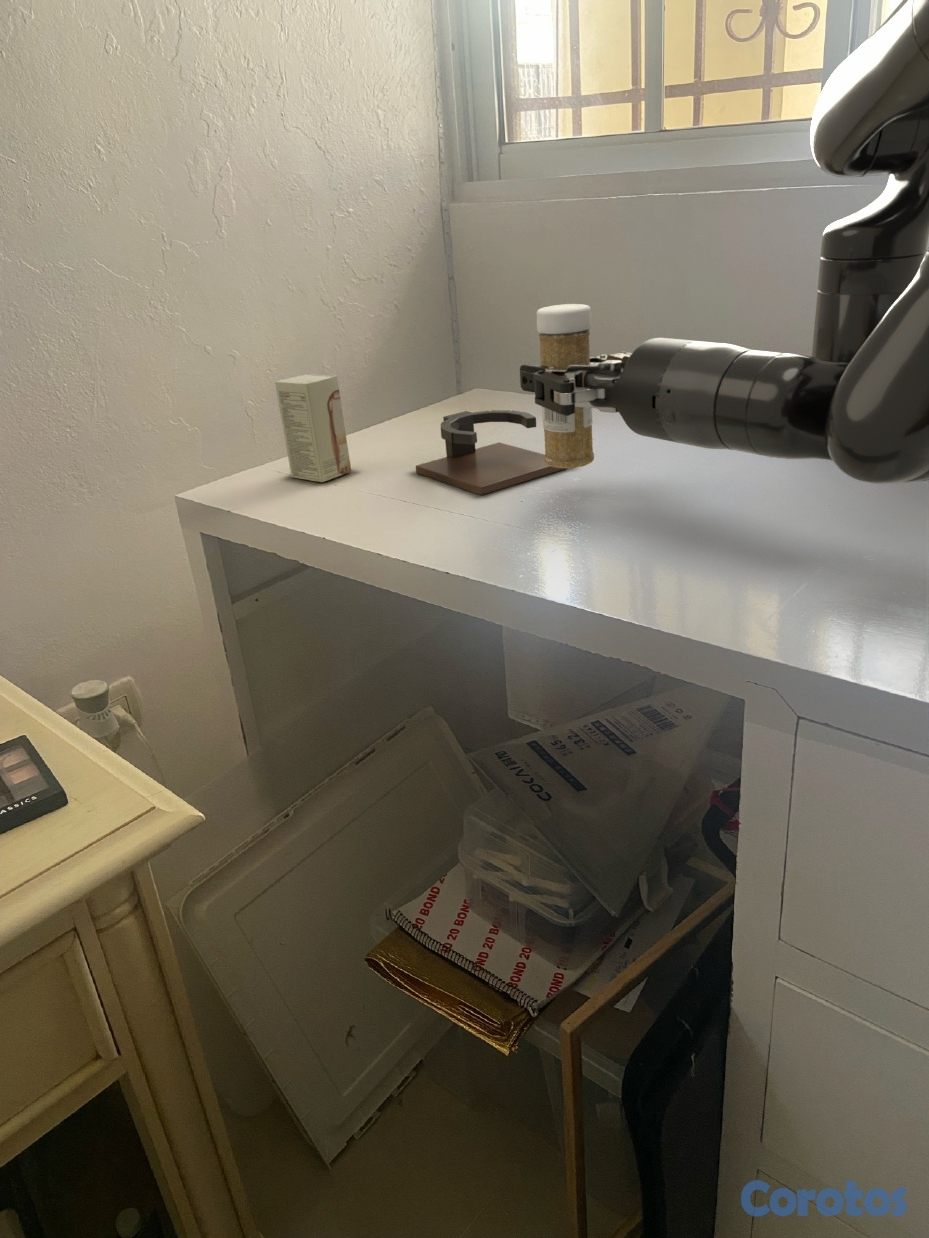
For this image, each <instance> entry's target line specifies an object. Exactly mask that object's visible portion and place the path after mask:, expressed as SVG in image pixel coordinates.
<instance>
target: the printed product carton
mask: <svg viewBox="0 0 929 1238" xmlns="http://www.w3.org/2000/svg"><path fill="white" fill-rule="evenodd" d="M274 385H275V391H276V396H277V401H278V407H279V413H280V419H281V425H282V430H283V436H284V441H285V446H286V447H285V449H286V453H287V459H288V464H289V469H290V471H289V472H290V476H291V478H295V479H299V480H307V481H312V482H318V483H319V482H320V483H324V482H327V481H331V480H332V479H335V478H338V477H341V476H344V475H346V474H348V473H351V472H352V467H351V466H352V465H351V460H350V459H351V458H350V453H349V446H348V439H347V433H346V425H345V419H344V412H343V406H342V400H341V399H342V398H341V393H340V386H339V379H338V375H332V374H331V375H330V374H318V373H317V374H316V373H304V374H300V375H296V376H292V377H288V378H283V379H281V380H275V381H274Z"/></svg>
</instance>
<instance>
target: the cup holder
mask: <svg viewBox="0 0 929 1238" xmlns="http://www.w3.org/2000/svg"><path fill="white" fill-rule="evenodd" d="M442 419H443V421H441V422H440V438H441V439H442V440H444V443H445V455H446V456H445V457H442V458H437V459H434V460H431V461H427V462H425V463H420V464H417V465H415V473H416V474H419V475H422V476H424V477H427V478H430V479H433V480H436V481H439V482H442V483H445V484H448V485H451V486H454V487H456V488H460V489H461V490H462V489H463V490H465V491H468V492H471V493H474V494H476V495H479V496H483V495H486V494H490V493H493V492H496V491H499V490H502V489H505V488H509V487H512V486H515V485H518V484H521V483H524V482H527V481H531V480H534V479H537V478H540V477H545V476H547V475H550V474H553V473H556V472H559V471H563V470H565V469H567V468H554V467H551V466H549V465H547V464H546V463H545V461H544V458H545V453H540V452H537V451H533V450H529V449H525V448H523V447H519V446H515V445H511V444H508V443H507V444H506V443H503V442H495V443H491V444H488V445H484V446H480V447H477V448H476V443H478V433H477V431H475V426H474V425H476V424H484V423H511V424H517V425H521V426H523V427H525V428H526V429H532V428H537V417H536V416H534V415H533V414H531V413H529V412H526V411H525V412H524V411H519V410H514V409H513V410H510V409H507V410H506V409H505V410H504V409H503V410H499V409H498V410H496V409H494V410H482V411H481V410H480V411H474V412H473V411H469V410H464V411H461V412H457V413H452V414H449V415H445V416H442Z"/></svg>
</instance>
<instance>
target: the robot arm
mask: <svg viewBox="0 0 929 1238" xmlns="http://www.w3.org/2000/svg"><path fill="white" fill-rule="evenodd" d="M810 124H811V125H810V135H809V137H810V139H809V140H810V148H811V153H812V156H813V158H814V161H815V163H816V164H817V166H818V167H819V168H820V170H822V171H823V172H824V173H825V174H827V175H830V176H833V177H837V178H863V177H865V178H866V177H877V176H887V175H888V179H887V182H886V185H885V187H884V189H883V191H882V192H881V193H880V194H879V196H878V197H876V198H875V199H874V200H872V201H871V202H870V203H869V204H867V205H866V206H864V207H863V208H861V209H860V210H857V211H855V212H854V213H851V214H849V215H847V216H844V217H842V218H840V219H837V220H835V221H833V222H831V223H829V224H828V225H827V226H826V227H825V229H824V230H823V233H822V238H821V246H820V258H819V259H820V260H819V269H818V279H817V291H816V292H817V293H816V303H815V316H814V324H813V325H814V328H813V337H812V349H811V356H808V355H805V354H799V353H793V352H783V351H773V350H762V349H753V348H752V349H751V348H748V347H744V346H741V345H737V344H733V343H727V342H726V343H725V342H713V341H704V340H703V341H702V340H692V339H682V338H681V339H680V338H670V337H669V338H668V337H653V338H650V339H648V340H646V341H643V342H642V343H641V344H639V345H638V346H637V347H636V348H635V349H634V350H633V351H632V352H627V351H620V352H617V353H613V354H611V353H610V354H608V355H607V354H606V353H601V354H599V355H596V356H590V362H576V363H574V364H571V365H569V366H568V367H567V368H566V367H555V366H550V367H549V366H542V365H541V364H533V363H525V364H522V365H520V366H519V383H520V388H521V390H522V391H524V392H529V393H534V404H536V405H537V406H540V407H541V408H542V407H545V408H547V409H549V410H552V411H554V412H556V413H559V414H562V415H565V416H569V415H571V414H574V413H575V407H584V408H592V409H597V410H598V411H599V412H601V413H610V414H611V413H619V415H620V417H621V418H622V420H623V422H624V423H625V424H626V426H627V427H628V428H629V429H630V430H631V431H632V432H633V433H635V434H637V435H639V436H642V437H647V438H653V439H658V440H662V441H668V442H672V443H678V444H682V445H687V446H692V447H697V448H702V449H707V450H708V449H709V450H728V451H736V452H742V453H747V454H752V455H758V456H762V457H768V458H773V459H783V460H812V459H813V460H825V461H826V460H827V461H832V462H833V463H834V465H835V467H837V468H838V470H840V471H841V472H842V473H843V474H845V475H846V476H847V477H850V478H852V479H854V480H855V481H856V480H857V481H859V482H864V483H868V484H877V485H879V484H882V485H883V484H885V485H886V484H897V483H912V482H926V481H929V245H928V243H929V0H902V1H901V2H900V3H899V5H898V6H896V8H895V9H894V10H893V12H892V13H891V14H890V15H889V16H888V17H887V19H886V20H884V22H883V23H882V24H881V25H880V26H879V28H877V29H876V31H874V33H872V35H871V36H869V37H868V38H867V39H866V40H865V41H864V42H863V43H862V44H861V45H860V46H859V47H858V48H857V49H855V50H854V51H853V52H852V53H851V54H850V55H849V56H848V57H846V59H844V60H843V61H842V62H841V63H840V64H839V65H838V66H837V67H836V69H834V71H833V72H832V73H831V75H830V77H828V80H827V81H826V83H825V85H824V87H823V89H822V90H821V93H820V94H819V96H818V99H817V103H816V105H815V107H814V111H813V114H812V120H811V123H810ZM583 371H584V372H586V374H585V376H584V387H583ZM561 376H565V377H567V378H564V377H561Z"/></svg>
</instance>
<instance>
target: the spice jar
mask: <svg viewBox="0 0 929 1238" xmlns="http://www.w3.org/2000/svg"><path fill="white" fill-rule="evenodd" d="M591 309H592V308H591V307H590V305H588V304H583V303H582V304H581V303H565V304H554V305H549V306H543V307H541V308H539V309H537V311H536V331H537V332H538V337H539V356H540V365H542V366H549V367H550V366H555V367H566V368H567V367H568V366H569V365H571V364H574V363H576V362H590V357H591V355H590V334H591V328H592V311H591ZM585 374H586V372H584V371H583V387H584V376H585ZM561 377H564V378H567V377H565V376H561ZM541 410H542V411H541V412H542V426H543V432H544V435H543V436H544V454H545V458H544V461H545V463H546V464H547V465H549V466H551V467H554V468H566V469H574V468H575V469H576V468H582V467H585V466H588V465H590V464H592V462H593V461H594V459H595V453H594V447H593V423H594V422H593V421H594V420H593V408H584V407H575V413H574V414H571V415H569V416H565V415H562V414H559V413H556V412H554V411H552V410H549V409H547V408H545V407H542V406H541Z"/></svg>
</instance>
